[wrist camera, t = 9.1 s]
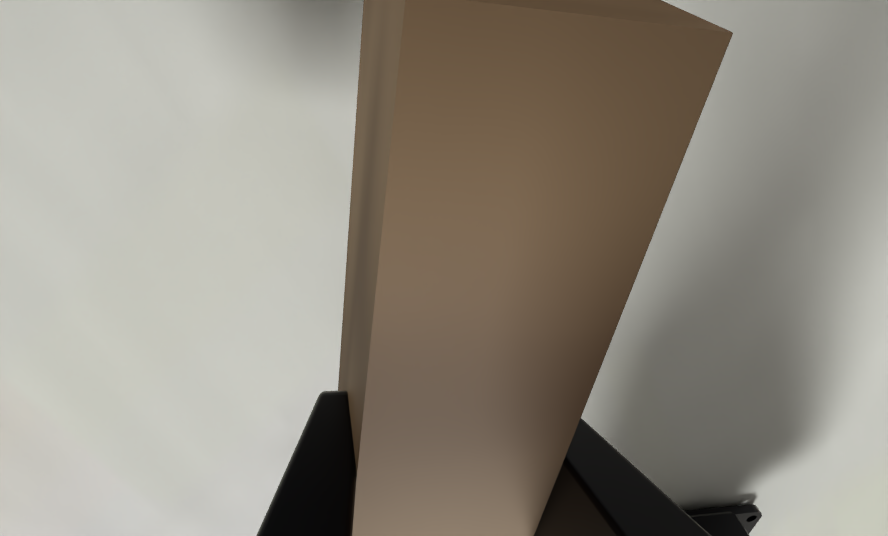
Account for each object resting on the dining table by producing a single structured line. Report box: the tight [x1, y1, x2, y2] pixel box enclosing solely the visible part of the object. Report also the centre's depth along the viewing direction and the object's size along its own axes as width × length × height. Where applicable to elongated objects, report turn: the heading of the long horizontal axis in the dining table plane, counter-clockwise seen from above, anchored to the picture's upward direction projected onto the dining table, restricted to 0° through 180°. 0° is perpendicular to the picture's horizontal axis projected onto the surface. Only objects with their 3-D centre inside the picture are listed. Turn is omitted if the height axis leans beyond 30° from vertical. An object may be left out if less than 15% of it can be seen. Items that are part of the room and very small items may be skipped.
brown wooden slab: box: [338, 0, 733, 536], centre depth 7 cm, size 13×5×3 cm, turn 171°
